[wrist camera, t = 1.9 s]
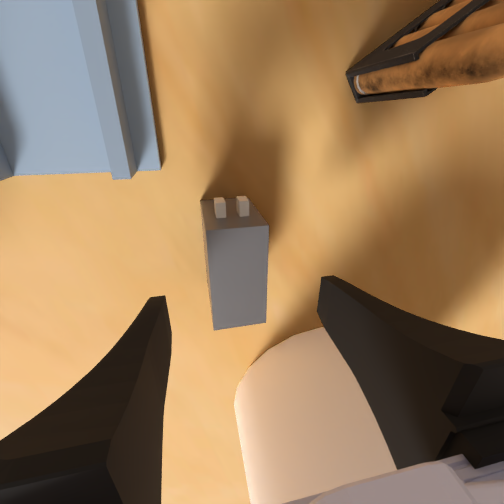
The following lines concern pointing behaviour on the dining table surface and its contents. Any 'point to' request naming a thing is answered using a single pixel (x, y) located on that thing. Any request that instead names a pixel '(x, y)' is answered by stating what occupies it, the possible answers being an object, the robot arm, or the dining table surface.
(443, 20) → the ammunition clip
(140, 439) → the robot arm
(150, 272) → the dining table surface
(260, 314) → the charcoal plug
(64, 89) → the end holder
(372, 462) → the canister
